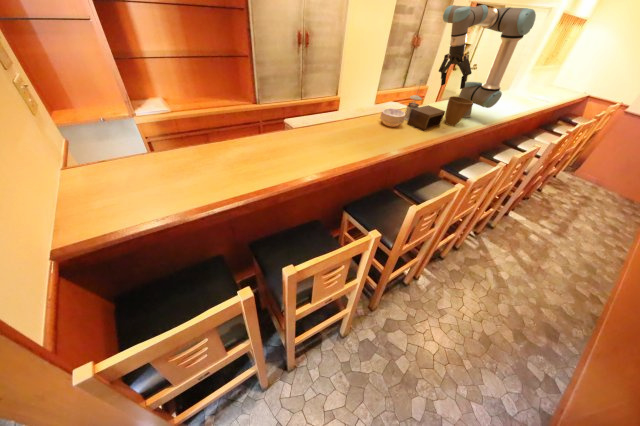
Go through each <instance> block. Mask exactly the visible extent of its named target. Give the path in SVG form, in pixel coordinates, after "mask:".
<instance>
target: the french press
mask: <svg viewBox="0 0 640 426" xmlns="http://www.w3.org/2000/svg"><path fill="white" fill-rule="evenodd" d="M419 82H420V83H419V87H418V89H417V93H416V94H413V95H411V96H409V99H411V100H414V101H412V102H408V105H406V109H405V111H404V113H405V118H404V121H408V120H409V117H410V114H411V111H412V109H414V108H418V107H420V104H418V103H417V101H422V100H423V98H422V96H419V95H418V93H419V90H420V86H421V85H422V83H423V82H424V79H419Z"/></svg>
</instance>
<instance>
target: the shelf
mask: <svg viewBox="0 0 640 426" xmlns="http://www.w3.org/2000/svg"><path fill="white" fill-rule="evenodd" d="M445 115H446V110H443V109H440V108H437V107H434V106H431V105H423V106H418V108H414V109H412V111H411V114H410V117H409V120H407V122H406V124H407V125H408V126H409V127H410V126H411V127H413V128H415V129H418V130H420V131H423V132H425V131H429V130H432V129H435V128H439V127H440V126H441V123H442V121H443V119H444V116H445Z"/></svg>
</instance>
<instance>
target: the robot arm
mask: <svg viewBox="0 0 640 426" xmlns="http://www.w3.org/2000/svg"><path fill="white" fill-rule="evenodd" d="M536 16H537V14H536V11H535V10H534V9H533V8H528V7H510V6H508V7H492V8H489V7H488V5H486V4H481V5H480V4H479V5H477V6H470V5H455V4H453V5H449V6H447V7H446V8H445V9H444V11H443V15H442V20H443V22H444V23H447V24H451V33H450V40H449V41H450V42H449V44H450V46H449V51H448V53H446V54H444V55H443V56H444V57H443V60H442V61H441V65H440V67H439V69H438V72H439V73H440V80H441V83H440V86H444V85H446V82H447V71H448V69H449V68H450V67H451V65H457V66H458V68H459V70H460V72H461V74H462V76H461V80H460V86H459V89H460V91H459V92H460V93H459V95H458V97H461V98H465V99H468V100H471V101H472V102H473V104H472V105H471V107H470V108H469V110H468V111H467V112H466V114H465V115H464V116H463V118H464V119H468V118H470V117H471V115H472V111H473V105H477V106H480V107H482V108H487V109H489V108H492V107H494V106H495V105H496V104H497V103H498V102H499V100H500V99H501V97H502V95H503V92H502V91H501V88H502V86H501V82H502V81H503V77H504V75H505V73H506V70H507V68H508V66H509V63H510V61H511V59H512V56H513V54H514V52H515V50H516V47H517V45H518V43H519V41H521V40H522V39H523V38H524V37H525V35H528V33H530V31H531V30H532V29H533V27H534V25H535V22H536ZM474 26H477V27H478V26H479V27H482V28H483V29H487V30H491V31H494V32H497V33H501V34H500V41H501V42H500V44H499V47H498V49H497V52H496V55H495V56H494V59H493V62H492V64H491V67H490V69H489V71H488V74H487V77H486V80H485V82H479V81H468V76H470V75H472V74H473V73H472V68H471V64H470V55H469V54H466V55H464V54H465V51H466V45H467V44H466V43H467V40H468V39H467V38H468V31H469V30H468V29H469V28H471V27H474ZM463 118H462V119H463Z"/></svg>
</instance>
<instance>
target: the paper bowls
mask: <svg viewBox="0 0 640 426" xmlns="http://www.w3.org/2000/svg"><path fill="white" fill-rule="evenodd" d="M404 118H405V111H403V110H401V109H396V108H391V107H390V108H388V107H387V108H383V109H381V112H380V117H379V119H380V120H381V121H382V124H383V125H385V126H387V127H391V128H395V127H396V128H397V127H398V126H400V125H401V124H403V123H404V122H405V119H404Z"/></svg>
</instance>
